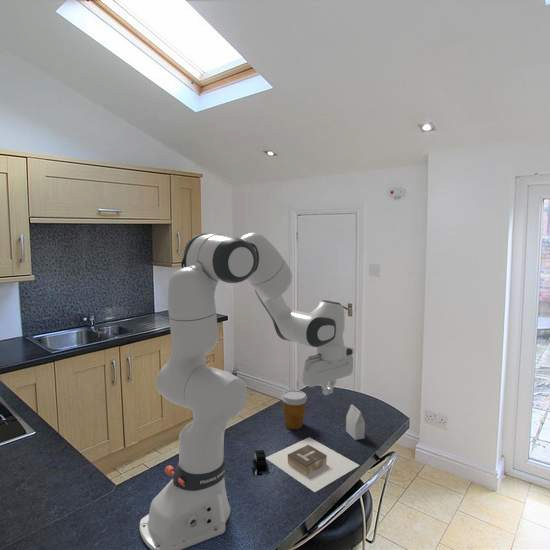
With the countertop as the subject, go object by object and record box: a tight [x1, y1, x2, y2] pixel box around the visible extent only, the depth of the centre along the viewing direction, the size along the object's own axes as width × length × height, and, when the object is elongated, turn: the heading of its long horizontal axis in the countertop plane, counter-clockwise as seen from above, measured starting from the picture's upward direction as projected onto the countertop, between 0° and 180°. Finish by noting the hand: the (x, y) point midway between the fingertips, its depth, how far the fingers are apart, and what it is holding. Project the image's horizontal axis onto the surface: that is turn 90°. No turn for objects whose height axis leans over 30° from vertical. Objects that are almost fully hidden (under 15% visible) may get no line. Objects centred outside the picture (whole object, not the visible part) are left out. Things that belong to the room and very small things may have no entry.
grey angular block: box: [345, 404, 366, 441], centre depth 144 cm, size 4×7×10 cm, turn 18°
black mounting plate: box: [250, 449, 270, 477], centre depth 125 cm, size 12×7×5 cm, turn 11°
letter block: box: [288, 445, 327, 475], centre depth 126 cm, size 3×8×9 cm
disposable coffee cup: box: [281, 389, 308, 430], centre depth 150 cm, size 10×10×12 cm
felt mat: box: [266, 436, 360, 493], centre depth 127 cm, size 20×22×1 cm
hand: (327, 393), depth 129 cm, fingers closed
